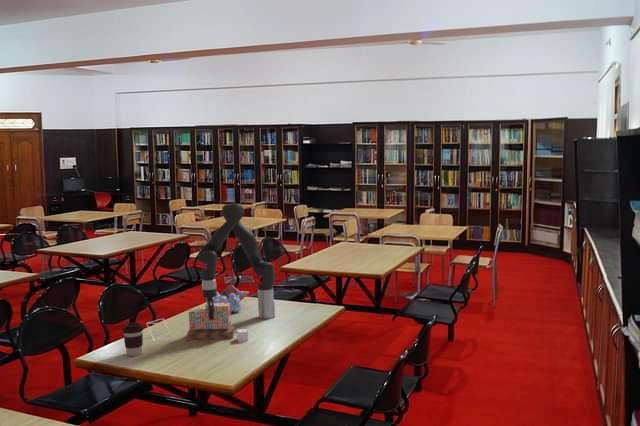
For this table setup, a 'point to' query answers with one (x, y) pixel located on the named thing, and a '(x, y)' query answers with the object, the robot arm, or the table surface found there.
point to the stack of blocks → (201, 317)
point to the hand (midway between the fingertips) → (210, 317)
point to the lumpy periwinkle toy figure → (231, 297)
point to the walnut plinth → (211, 333)
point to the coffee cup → (133, 338)
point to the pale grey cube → (242, 335)
